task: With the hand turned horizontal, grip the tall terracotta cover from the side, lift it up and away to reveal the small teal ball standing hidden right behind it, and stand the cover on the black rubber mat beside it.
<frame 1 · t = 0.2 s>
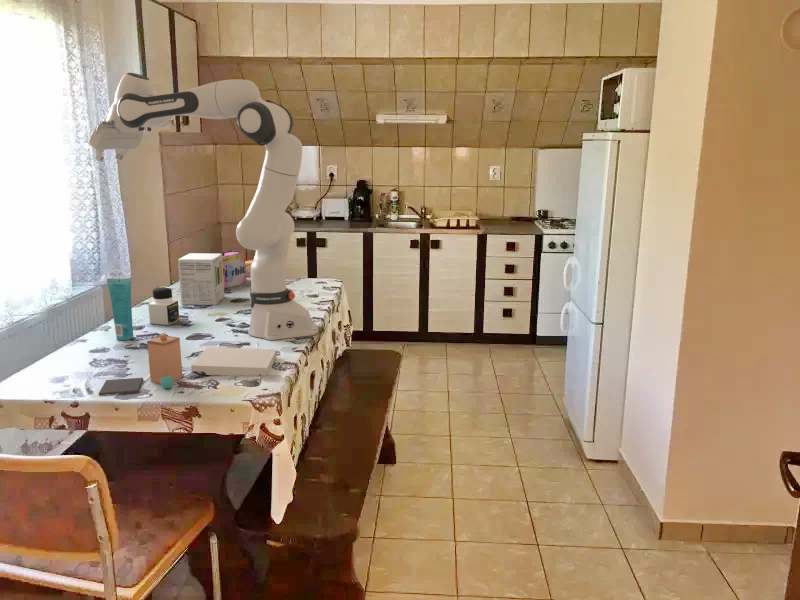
hand: (108, 159, 216), 54 cm above the table, tool tilted 30°, fingers open, 8 cm apart
ball: (167, 388, 167), on the table
cover: (166, 379, 173), on the table
gum box: (222, 287, 278), on the table
medicine bottle: (164, 322, 226), on the table
food packaging: (236, 368, 184), on the table
tube: (124, 338, 207), on the table
supplement box: (203, 301, 254), on the table
mat: (121, 387, 168), on the table
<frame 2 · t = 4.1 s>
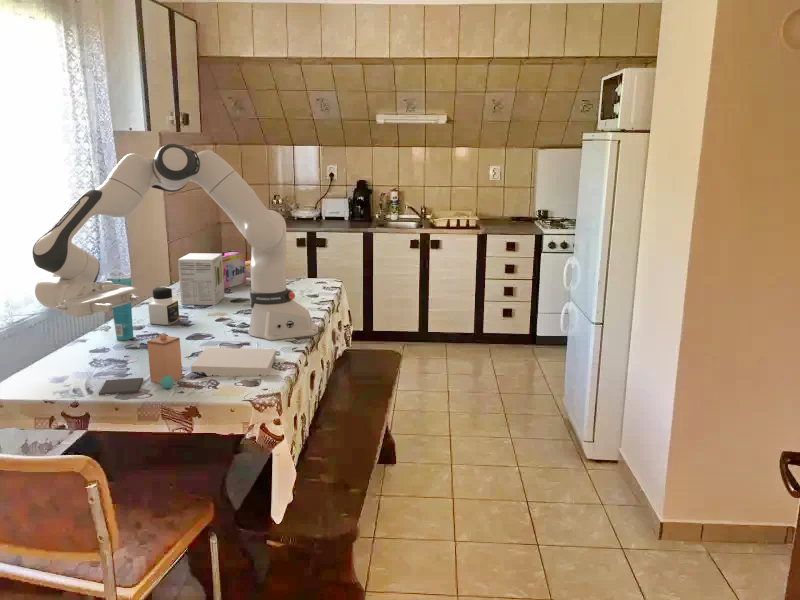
hand: (124, 304, 173), 19 cm above the table, tool horizontal, fingers open, 8 cm apart
nothing on the table moved.
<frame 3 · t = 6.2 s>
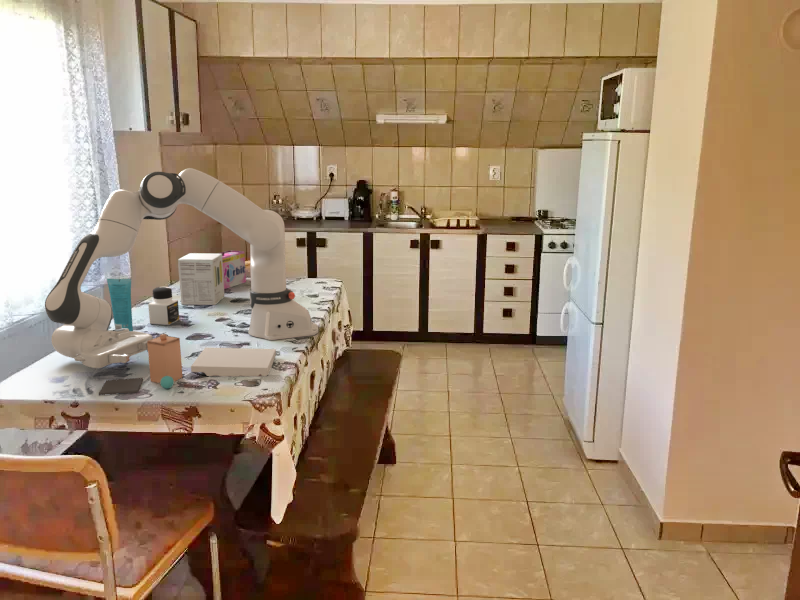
hand: (141, 353, 175), 6 cm above the table, tool horizontal, fingers open, 8 cm apart
nothing on the table moved.
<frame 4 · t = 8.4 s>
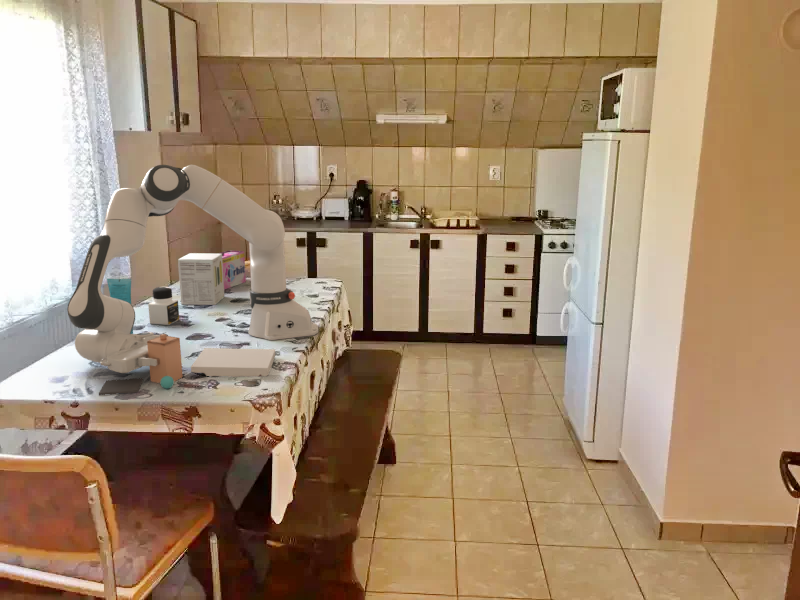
hand: (167, 358, 171), 6 cm above the table, tool horizontal, fingers closed on cover, 6 cm apart
cover: (166, 379, 173), on the table, touching gripper
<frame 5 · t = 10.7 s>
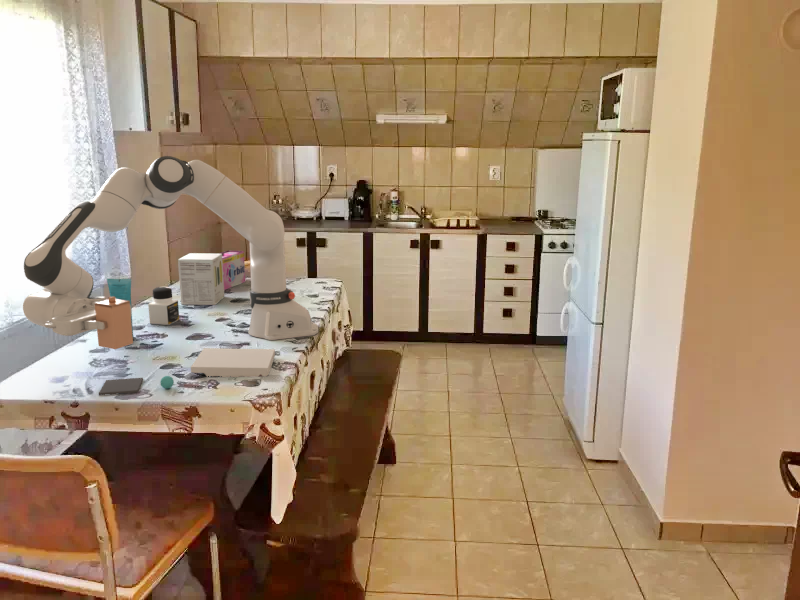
hand: (116, 322, 163), 17 cm above the table, tool horizontal, fingers closed on cover, 6 cm apart
cover: (116, 344, 165), point 11 cm above the table, touching gripper
when the fingers open (8 cm above the table, at t = 12.9 s): cover drops 1 cm, resting on mat.
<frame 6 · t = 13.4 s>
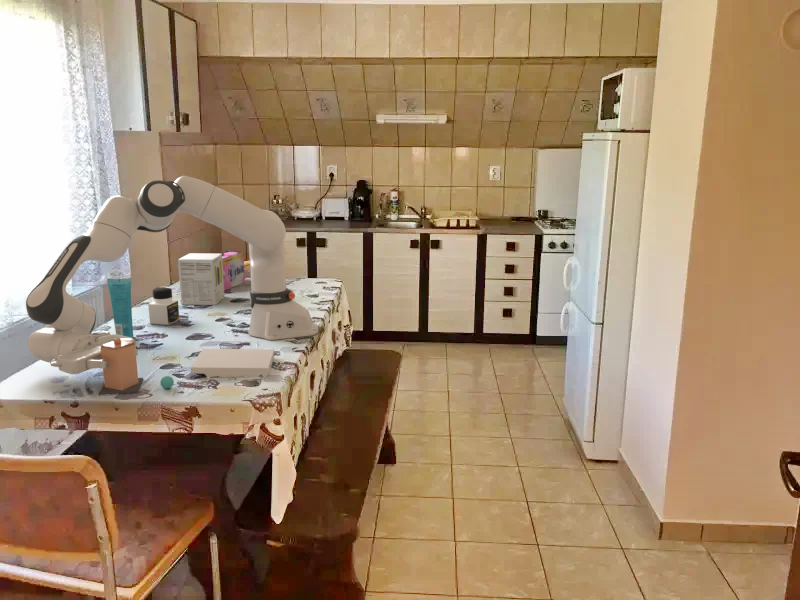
hand: (121, 358, 165), 8 cm above the table, tool horizontal, fingers open, 8 cm apart
cover: (121, 384, 167), point 1 cm above the table, touching mat
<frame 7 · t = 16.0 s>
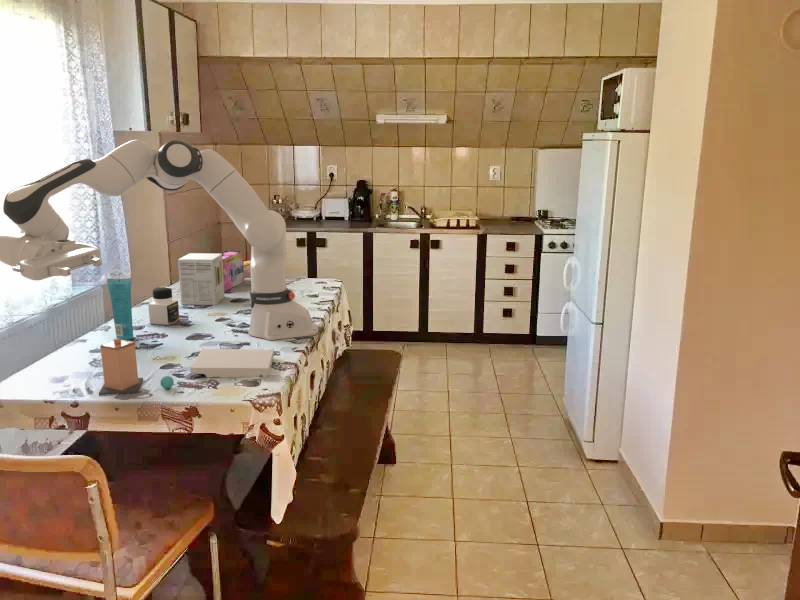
hand: (84, 267, 165), 30 cm above the table, tool horizontal, fingers open, 8 cm apart
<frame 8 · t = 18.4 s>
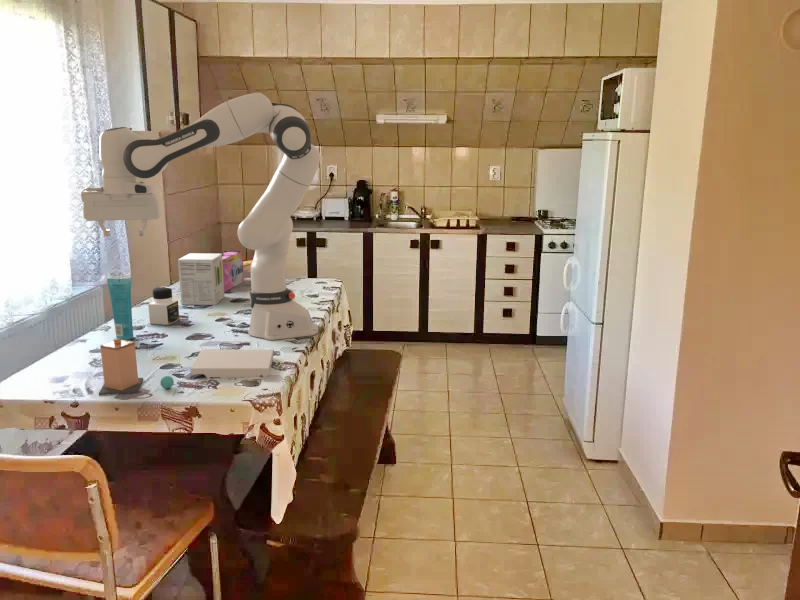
hand: (124, 235, 189), 34 cm above the table, tool pointing down, fingers open, 8 cm apart
at the end: cover inside the target area on the mat (0.1 cm from its centre), point 0.6 cm above the mat's base; cover tilted 0°; the gripper is holding nothing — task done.
